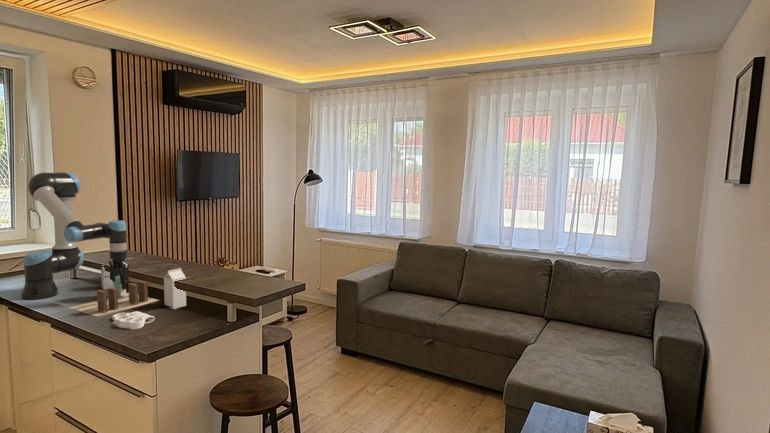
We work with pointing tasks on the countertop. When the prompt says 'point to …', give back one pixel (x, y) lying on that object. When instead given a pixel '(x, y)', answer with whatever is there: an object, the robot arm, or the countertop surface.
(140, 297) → the domino
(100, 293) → the domino
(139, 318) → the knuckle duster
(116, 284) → the domino
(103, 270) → the supplement box
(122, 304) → the birch board
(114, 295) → the domino
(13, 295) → the countertop surface
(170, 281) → the milk carton
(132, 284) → the domino
